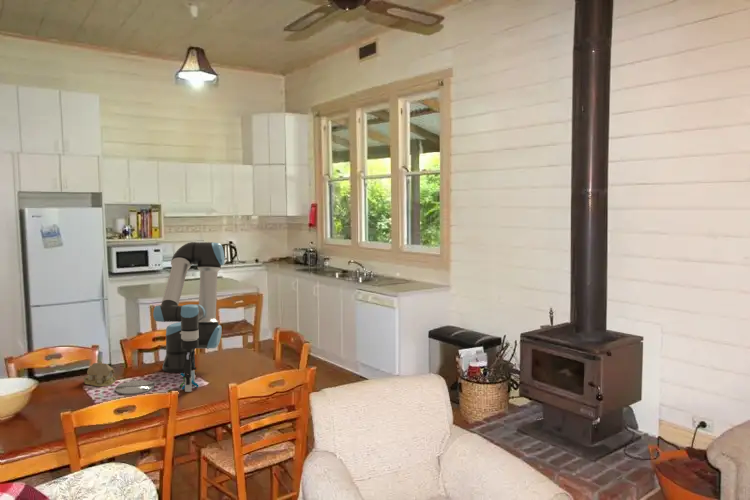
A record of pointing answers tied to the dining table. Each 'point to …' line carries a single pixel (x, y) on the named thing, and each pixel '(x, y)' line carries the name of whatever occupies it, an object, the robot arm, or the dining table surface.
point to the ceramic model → (100, 375)
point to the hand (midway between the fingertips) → (189, 387)
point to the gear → (184, 382)
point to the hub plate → (134, 387)
